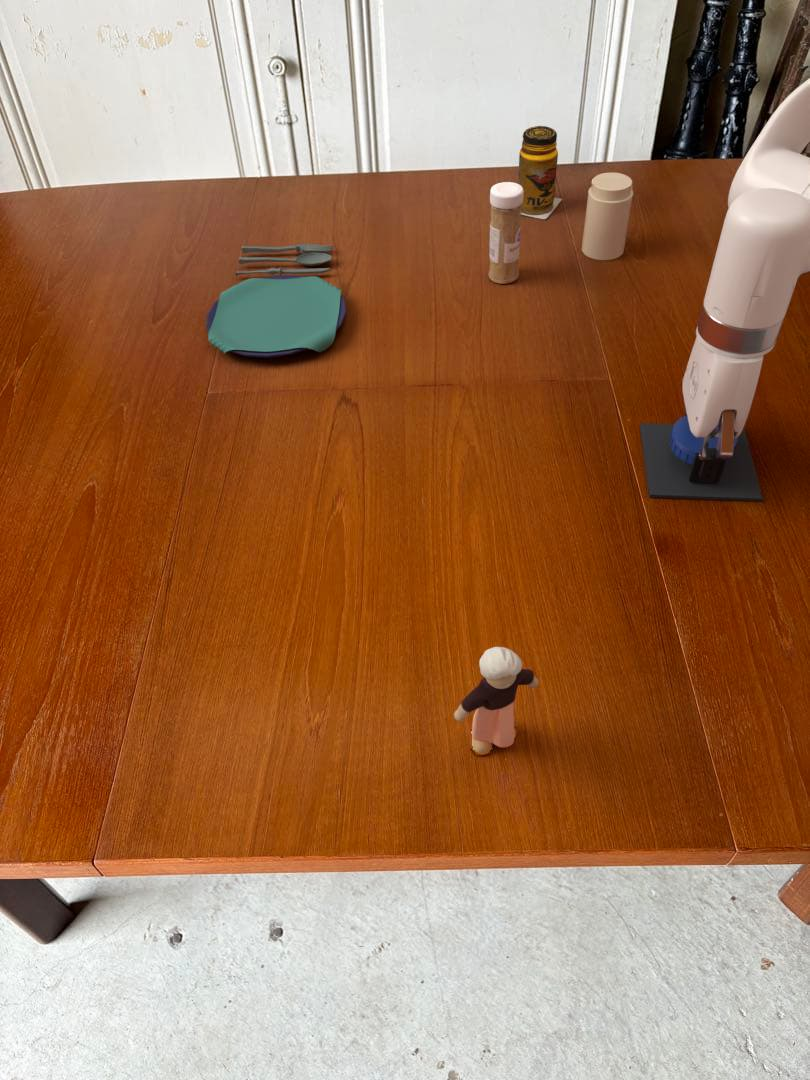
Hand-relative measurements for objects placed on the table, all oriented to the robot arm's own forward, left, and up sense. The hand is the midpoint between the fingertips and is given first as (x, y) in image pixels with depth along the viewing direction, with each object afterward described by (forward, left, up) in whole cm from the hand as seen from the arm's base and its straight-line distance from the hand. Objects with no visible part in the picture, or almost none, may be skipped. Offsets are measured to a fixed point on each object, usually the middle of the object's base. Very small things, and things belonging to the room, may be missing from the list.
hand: (698, 456), depth 93 cm
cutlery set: (+55, -31, -1) cm, 63 cm away
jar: (+8, -47, -1) cm, 48 cm away
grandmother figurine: (+22, +36, -1) cm, 42 cm away
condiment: (+19, -61, -1) cm, 64 cm away
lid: (0, 0, +3) cm, 3 cm away
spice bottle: (+23, -39, -1) cm, 45 cm away
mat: (0, 0, -1) cm, 1 cm away
